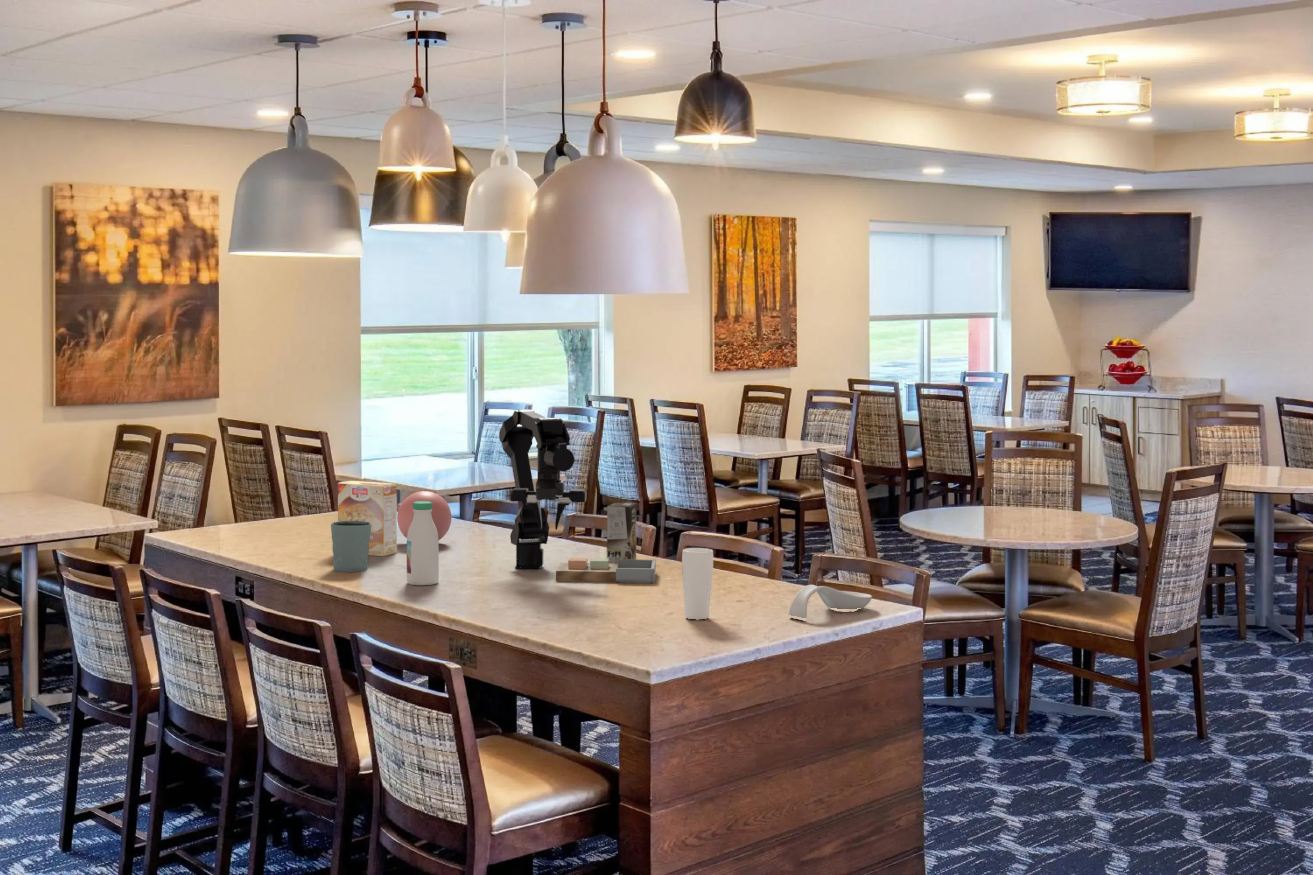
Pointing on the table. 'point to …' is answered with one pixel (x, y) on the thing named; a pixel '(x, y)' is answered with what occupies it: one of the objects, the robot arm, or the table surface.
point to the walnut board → (586, 573)
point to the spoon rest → (827, 599)
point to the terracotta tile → (578, 563)
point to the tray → (636, 571)
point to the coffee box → (621, 531)
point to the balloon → (438, 513)
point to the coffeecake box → (371, 512)
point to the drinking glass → (697, 581)
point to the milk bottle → (422, 547)
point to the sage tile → (599, 563)
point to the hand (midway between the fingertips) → (548, 529)
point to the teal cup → (350, 545)
